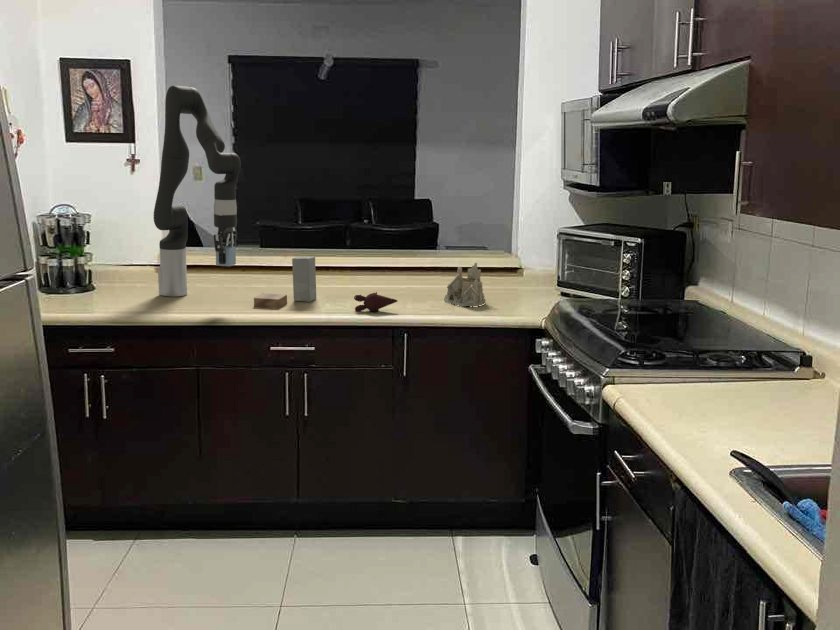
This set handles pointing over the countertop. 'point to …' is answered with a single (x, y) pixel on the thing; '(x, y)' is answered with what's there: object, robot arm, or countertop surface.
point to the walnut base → (270, 300)
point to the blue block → (228, 257)
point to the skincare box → (304, 278)
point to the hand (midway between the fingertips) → (225, 262)
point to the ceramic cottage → (466, 288)
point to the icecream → (373, 302)
